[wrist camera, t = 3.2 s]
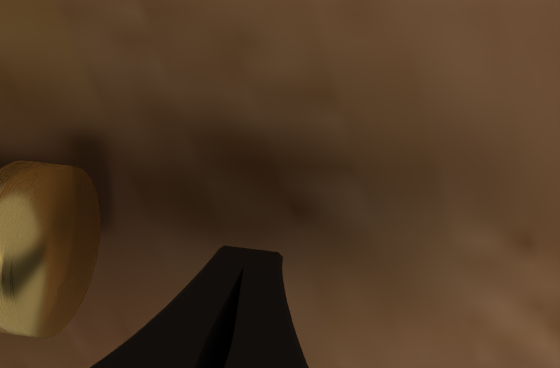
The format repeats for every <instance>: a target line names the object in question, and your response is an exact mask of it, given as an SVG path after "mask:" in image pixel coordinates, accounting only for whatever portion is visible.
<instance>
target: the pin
mask: <svg viewBox="0 0 560 368" xmlns="http://www.w3.org/2000/svg"><path fill="white" fill-rule="evenodd" d="M99 239H100V206H99V199H98V195H97V191H96V188H95V185H94V183H93V181H92V179H91V178H90V176H89V175H88V174H87V173H86V172H85V171H84V170H83V169H81V168H79V167H76V166H68V165H59V164H51V163H42V162H34V161H15V162H12V163H10V164H7V165H6V166H4V167H3V168H1V169H0V333H7V334H14V335H22V336H29V337H36V338H48V337H51V336H53V335H55V334H56V333H58V332H59V331H61V330H62V329H63V328H64V327H65V326H66V325H67V324H68V322H69V321H70V320H71V319H72V317H73V316H74V314H75V313H76V311H77V309H78V308H79V306H80V304H81V302H82V300H83V298H84V296H85V294H86V291H87V289H88V286H89V283H90V281H91V277H92V274H93V271H94V267H95V263H96V258H97V253H98V247H99Z"/></svg>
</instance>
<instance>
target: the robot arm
mask: <svg viewBox="0 0 560 368" xmlns="http://www.w3.org/2000/svg"><path fill="white" fill-rule="evenodd" d="M282 261H283V257H282V256H281V255H280V254H279V253H278V252H271V251H263V250H255V249H247V248H239V247H231V246H223V247H221V248H220V249H219V250H218V251H217V252H216V253H215V255H214V256H213V257H212V258H211V259H210V261H209V262H208V263H207V264H206V265H205V266H204V268H203V269H202V270H201V271H200V272H199V273H198V274H197V275H196V277H195V278H194V279H193V280H192V281H191V282H190V283H189V284H188V285H187V286H186V287H185V288H184V289H183V290H182V291H181V292H180V293H179V294H178V295H177V296H176V297H175V298H174V299H173V300H172V301H171V302H170V303H169V304H168V305H167V306H166V307H165V308H164V309H163V310H162V311H160V312H159V313H158V314H157V315H156V316H155V317H154V318H153V319H152V320H151V321H149V322H148V323H147V324H146V325H145V326H144V327H143V328H142V329H140V330H139V331H138V332H137V333H136V334H134V335H133V336H132V337H131V338H129V339H128V340H127V341H126V342H124V343H123V344H122V345H121V346H119V347H118V348H117V349H115V350H114V351H113V352H111V353H110V354H109V355H107V356H106V357H105V358H103V359H102V360H100V361H99V362H97V363H96V364H94V365H93V366H92V367H90V368H309V367H308V365H307V363H306V360H305V357H304V355H303V352H302V349H301V347H300V344H299V341H298V338H297V335H296V332H295V329H294V326H293V322H292V319H291V315H290V311H289V307H288V304H287V299H286V295H285V289H284V283H283V276H282Z"/></svg>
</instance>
